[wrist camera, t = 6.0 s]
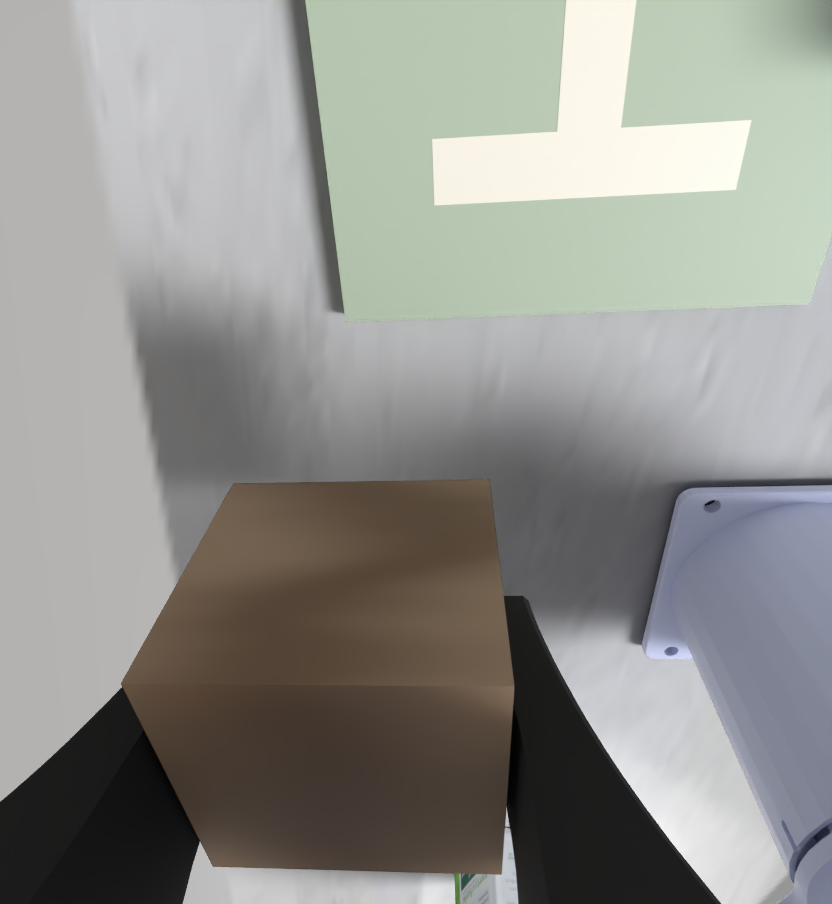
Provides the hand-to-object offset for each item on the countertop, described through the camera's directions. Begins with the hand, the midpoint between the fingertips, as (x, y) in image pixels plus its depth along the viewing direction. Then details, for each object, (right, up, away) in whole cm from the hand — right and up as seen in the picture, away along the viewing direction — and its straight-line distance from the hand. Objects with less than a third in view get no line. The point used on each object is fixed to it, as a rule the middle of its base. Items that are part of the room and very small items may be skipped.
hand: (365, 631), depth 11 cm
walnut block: (0, +1, +1) cm, 1 cm away
